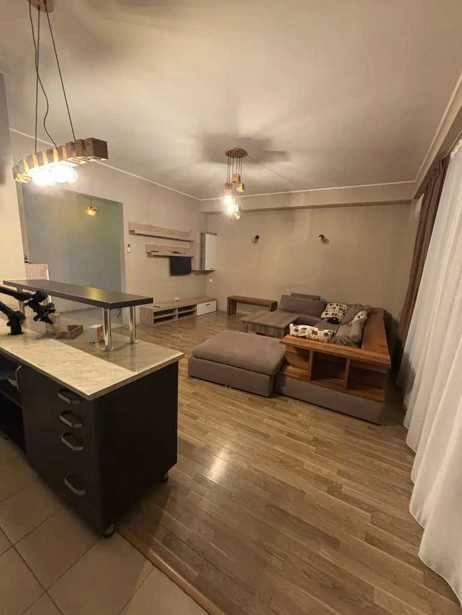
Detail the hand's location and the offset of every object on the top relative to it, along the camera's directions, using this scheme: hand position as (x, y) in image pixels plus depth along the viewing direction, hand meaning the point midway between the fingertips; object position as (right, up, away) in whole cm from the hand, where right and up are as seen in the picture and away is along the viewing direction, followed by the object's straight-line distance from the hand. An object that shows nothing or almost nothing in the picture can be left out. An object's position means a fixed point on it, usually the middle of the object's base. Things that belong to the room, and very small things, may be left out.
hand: (55, 323), depth 172 cm
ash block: (-1, -6, +1) cm, 7 cm away
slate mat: (-1, -8, +2) cm, 8 cm away
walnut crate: (+9, -9, +3) cm, 12 cm away
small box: (+32, -12, -5) cm, 34 cm away
